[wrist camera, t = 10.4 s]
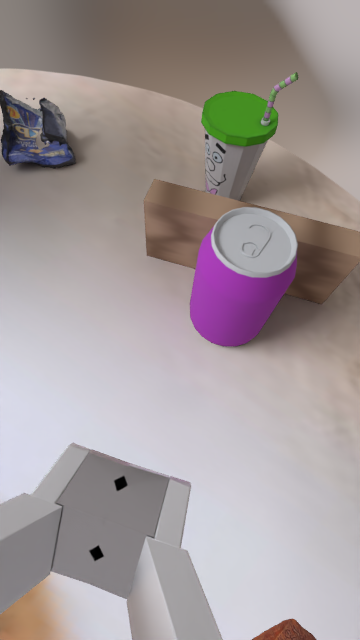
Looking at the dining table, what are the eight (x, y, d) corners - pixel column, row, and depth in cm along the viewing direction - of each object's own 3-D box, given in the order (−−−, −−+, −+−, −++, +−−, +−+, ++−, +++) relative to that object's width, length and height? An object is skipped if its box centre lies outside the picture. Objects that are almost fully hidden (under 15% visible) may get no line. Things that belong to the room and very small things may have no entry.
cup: (181, 185, 42) (191, 47, 29) (229, 166, 45) (259, 30, 31) (215, 225, 40) (244, 93, 26) (265, 202, 42) (314, 70, 28)
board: (146, 255, 37) (143, 200, 30) (155, 235, 38) (154, 178, 31) (321, 304, 35) (362, 258, 28) (324, 282, 37) (363, 233, 29)
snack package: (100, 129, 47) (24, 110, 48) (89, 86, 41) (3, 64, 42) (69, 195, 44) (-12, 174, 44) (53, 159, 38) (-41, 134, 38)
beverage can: (246, 363, 32) (290, 301, 21) (175, 330, 33) (183, 255, 22) (271, 302, 35) (320, 222, 24) (206, 274, 36) (226, 186, 26)
